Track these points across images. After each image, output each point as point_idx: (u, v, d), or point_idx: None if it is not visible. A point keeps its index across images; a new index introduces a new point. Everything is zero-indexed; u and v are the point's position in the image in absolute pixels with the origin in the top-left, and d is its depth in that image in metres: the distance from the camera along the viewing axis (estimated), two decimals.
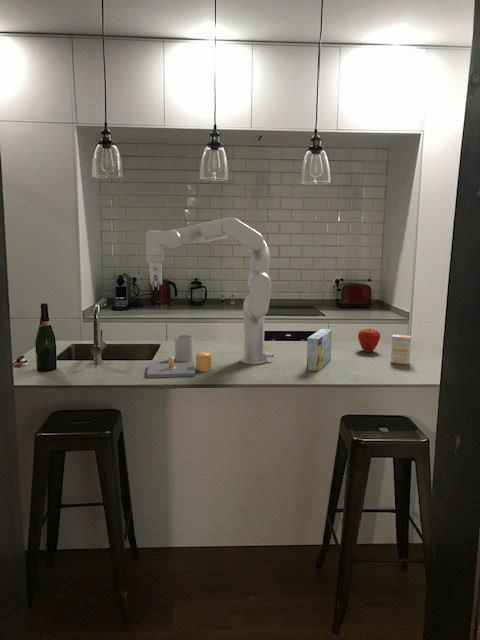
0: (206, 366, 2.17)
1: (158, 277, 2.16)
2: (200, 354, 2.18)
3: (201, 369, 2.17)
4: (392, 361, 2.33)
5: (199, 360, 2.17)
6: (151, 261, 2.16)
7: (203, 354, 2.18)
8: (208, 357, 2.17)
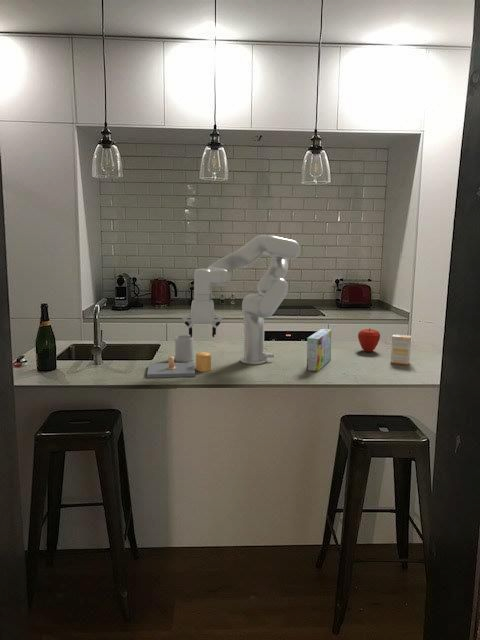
0: (206, 366, 2.17)
1: None
2: (200, 354, 2.18)
3: (201, 369, 2.17)
4: (392, 361, 2.33)
5: (199, 360, 2.17)
6: (210, 300, 2.13)
7: (203, 354, 2.18)
8: (208, 357, 2.17)
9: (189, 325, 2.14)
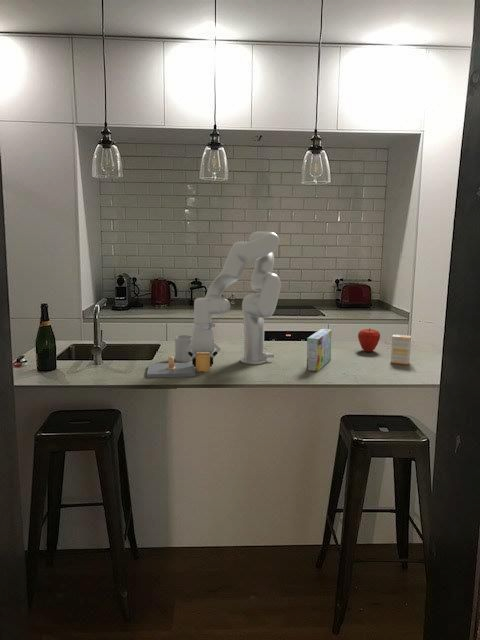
0: (205, 366, 2.17)
1: None
2: (199, 354, 2.18)
3: (200, 369, 2.17)
4: (392, 361, 2.33)
5: (198, 360, 2.17)
6: (210, 329, 2.16)
7: (202, 354, 2.18)
8: (207, 357, 2.17)
9: (192, 356, 2.17)
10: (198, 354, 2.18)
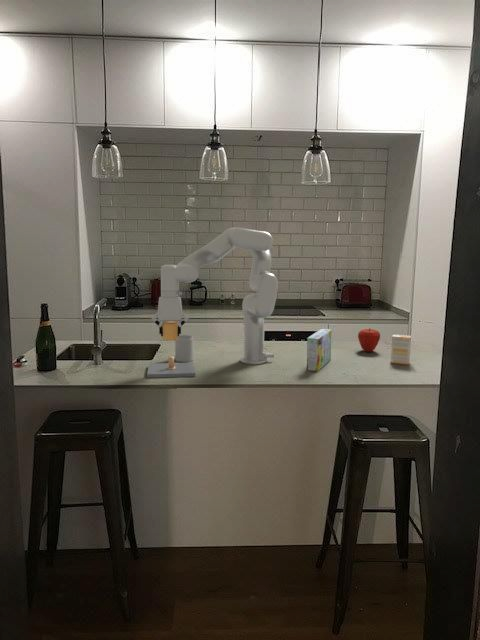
0: (173, 335, 2.11)
1: None
2: (166, 323, 2.12)
3: (167, 338, 2.11)
4: (392, 361, 2.33)
5: (165, 329, 2.10)
6: (177, 296, 2.09)
7: (170, 323, 2.12)
8: (175, 326, 2.11)
9: (159, 324, 2.11)
10: (165, 323, 2.12)
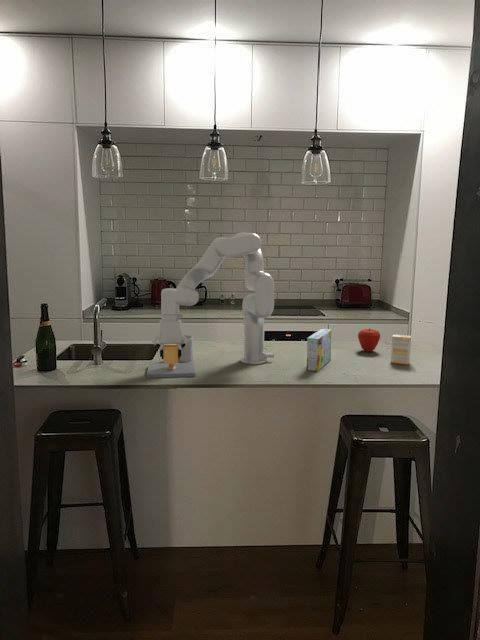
0: (173, 358, 2.13)
1: (182, 334, 2.16)
2: (167, 346, 2.14)
3: (168, 361, 2.13)
4: (392, 361, 2.33)
5: (166, 352, 2.12)
6: (178, 320, 2.11)
7: (170, 346, 2.14)
8: (175, 349, 2.13)
9: (160, 347, 2.13)
10: (166, 346, 2.14)
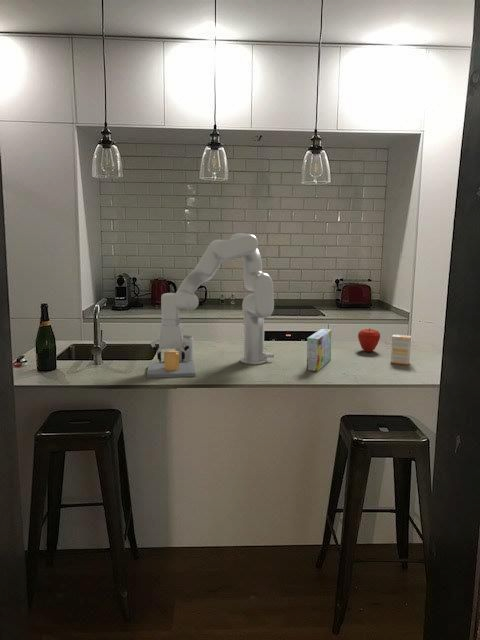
0: (174, 365, 2.13)
1: None
2: (168, 353, 2.15)
3: (169, 368, 2.13)
4: (392, 361, 2.33)
5: (167, 359, 2.13)
6: (178, 324, 2.12)
7: (171, 353, 2.15)
8: (176, 356, 2.13)
9: (157, 350, 2.13)
10: (167, 353, 2.15)
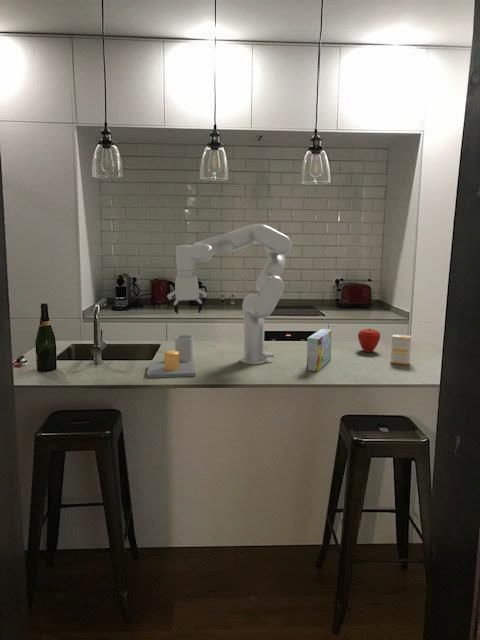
0: (174, 365, 2.13)
1: None
2: (168, 353, 2.15)
3: (169, 368, 2.13)
4: (392, 361, 2.33)
5: (167, 359, 2.13)
6: (194, 275, 2.13)
7: (171, 353, 2.15)
8: (176, 356, 2.13)
9: (174, 302, 2.14)
10: (167, 353, 2.15)
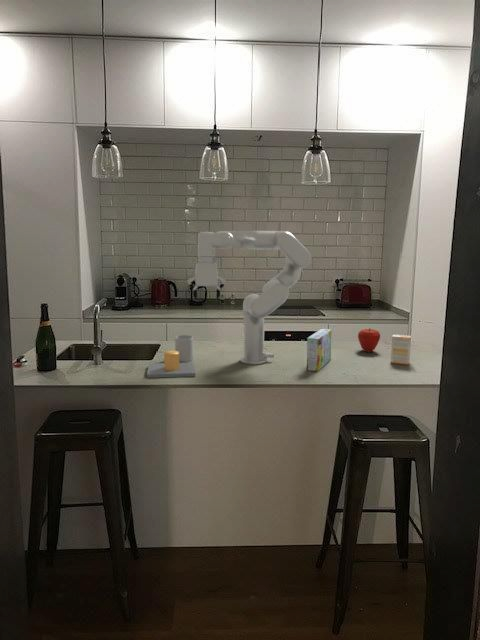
0: (174, 365, 2.13)
1: None
2: (168, 353, 2.15)
3: (169, 368, 2.13)
4: (392, 361, 2.33)
5: (167, 359, 2.13)
6: (214, 262, 2.18)
7: (171, 353, 2.15)
8: (176, 356, 2.13)
9: (194, 287, 2.20)
10: (167, 353, 2.15)
